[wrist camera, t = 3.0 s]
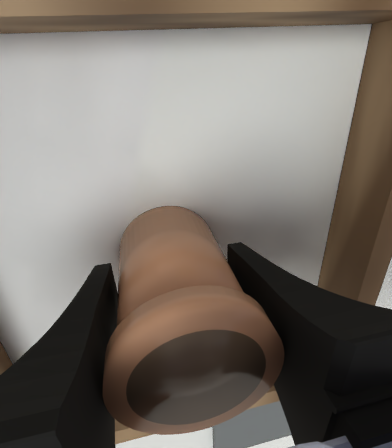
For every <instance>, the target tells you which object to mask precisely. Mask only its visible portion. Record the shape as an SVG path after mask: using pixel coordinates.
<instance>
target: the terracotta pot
mask: <svg viewBox="0 0 392 448" xmlns="http://www.w3.org/2000/svg"><path fill="white" fill-rule="evenodd" d="M283 362H284V346H283V343H282V340H281V338H280V337H279V335H278V333H277V331H276V330H275V328H274V326H273V325H272V323H271V321H270V319H269V318H268V316H267V314H266V313H265V311H264V309H263V308H262V306H261V305H260V304H259V303H258V302H257V301H256V300H255V299H253V298H252V297H251V296H249V295H247V294H245V293H244V292H243V290H242V288H241V286H240V284H239V283H238V281H237V279H236V277H235V275H234V273H233V271H232V269H231V268H230V266H229V264H228V262H227V260H226V258H225V256H224V255H223V253H222V251H221V249H220V247H219V245H218V243H217V241H216V240H215V238H214V236H213V234H212V232H211V230H210V228H209V227H208V225H207V223H206V222H205V221H204V220H203V219H202V218H201V217H200V216H199V215H198V214H196V213H195V212H193V211H191V210H188V209H185V208H182V207H176V206H164V207H158V208H154V209H151V210H149V211H146V212H144V213H143V214H141V215H139V216H138V217H137V218H135V219H134V220H133V221H132V222H131V223H130V224H129V225H128V227H127V228H126V230H125V231H124V233H123V236H122V238H121V242H120V255H119V283H118V310H117V328H116V329H115V330H114V332H113V334H112V335H111V337H110V339H109V342H108V344H107V347H106V352H105V362H104V375H103V400H104V404H105V406H106V408H107V410H108V412H109V413H110V414H111V415H112V417H113V418H115V419H116V420H117V421H118V422H120V423H121V424H123V425H124V426H126V427H129V428H131V429H133V430H137V431H140V432H144V433H150V434H161V435H167V434H182V433H189V432H194V431H198V430H202V429H206V428H209V427H212V426H215V425H218V424H220V423H223V422H225V421H227V420H229V419H231V418H233V417H235V416H237V415H239V414H240V413H242V412H244V411H245V410H247V409H248V408H250V407H251V406H252V405H254V404H255V403H256V402H257V401H259V400H260V399H261V398H262V397H263V396H264V395H265V394H266V393H267V392H268V391H269V390H270V388H271V387H272V386H273V384H274V383H275V381H276V380H277V378H278V376H279V374H280V372H281V369H282V366H283Z"/></svg>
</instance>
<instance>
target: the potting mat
mask: <svg viewBox="0 0 392 448" xmlns="http://www.w3.org/2000/svg"><path fill="white" fill-rule="evenodd" d="M289 435H292V434H291V431H290V428H289V425H288V423H287V420H286V417H285V414H284V411H283V409H282V406H281V403H280V401H278V402H274V403H270V404H266V405H262V406H259V407H255V408H251V409H247V410H245V411H244V412H242V413H240V414H239V415H237V416H235V417H233V418H231V419H229V420H227V421H225V422H223V423H220V424H218V425H215V426H213V448H247V447H251V446H254V445H258V444H261V443H265V442H268V441H272V440H275V439H279V438H282V437H286V436H289Z"/></svg>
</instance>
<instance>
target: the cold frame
mask: <svg viewBox="0 0 392 448" xmlns="http://www.w3.org/2000/svg"><path fill="white" fill-rule="evenodd" d="M344 24H372V28H371V33H370V38H369V43H368V48H367V52H366V57H365V62H364V67H363V72H362V76H361V81H360V86H359V91H358V95H357V100H356V105H355V110H354V115H353V119H352V124H351V129H350V134H349V139H348V143H347V148H346V153H345V158H344V163H343V167H342V172H341V177H340V182H339V186H338V191H337V196H336V201H335V206H334V210H333V215H332V220H331V225H330V230H329V234H328V239H327V244H326V249H325V254H324V258H323V263H322V268H321V273H320V278H319V282H318V287H320V288H322V289H325V290H327V291H330V292H333V293H335V294H338V295H341V296H344V297H347V298H350V299H353V300H356V301H360V302H363V303H367V304H370V305H374V306H375V303H376V300H377V298H378V295H379V292H380V289H381V286H382V283H383V280H384V278H385V275H386V272H387V269H388V266H389V263H390V260H391V257H392V0H0V34H3V33H41V32H78V31H116V30H154V29H192V28H230V27H268V26H306V25H344ZM12 365H13V364H12V362H11V361H10V359H9V357H8V355H7V353H6V352H5V350H4V348H3V346H2V344H1V342H0V375H1V374H2V373H3V372H5V371H6V370H7V369H8V368H9V367H10V366H12ZM278 401H280V400H279V397H278V395H277V392H276V389H275V387H274V384H273V386H272V387H271V388H270V390H269V391H268V392H267V393H266V394H265V395H264V396H263V397H262V398H261V399H260V400H259V401H257V402H256V403H255V404H254V405H252V406H251V407H250V408H248V409H251V408H255V407H259V406H262V405H266V404H270V403H274V402H278ZM148 435H152V434H150V433H144V432H140V431H137V430H133V429H131V428H129V427H126V426H124V425H123V424H121V423H120V422H118V421H117V420H116V419H115V444H118V443H122V442H126V441H129V440H133V439H137V438H141V437H145V436H148Z"/></svg>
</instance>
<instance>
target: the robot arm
mask: <svg viewBox="0 0 392 448" xmlns="http://www.w3.org/2000/svg"><path fill="white" fill-rule="evenodd" d="M228 264H229V266H230V268H231V269H232V271H233V273H234V275H235V277H236V279H237V281H238V283H239V284H240V286H241V288H242V290H243V292H244V293H245V294H247V295H249V296H251V297H252V298H253V299H255V300H256V301H257V302H258V303H259V304H260V305H261V306H262V308H263V309H264V311H265V313H266V314H267V316H268V318H269V319H270V321H271V323H272V325H273V326H274V328H275V330H276V331H277V333H278V335H279V337H280V338H281V340H282V343H283V346H284V362H283V366H282V369H281V372H280V374H279V376H278V378H277V380H276V381H275V383H274V387H275V389H276V392H277V395H278V397H279V400H280V403H281V406H282V409H283V411H284V414H285V417H286V420H287V423H288V425H289V428H290V431H291V434H292V437H293V440H294V443H295V446H292V447H289V448H392V310H391V309H387V308H382V307H378V306H374V305H370V304H367V303H363V302H360V301H356V300H353V299H350V298H347V297H344V296H341V295H338V294H335V293H333V292H330V291H327V290H325V289H322V288H320V287H317V286H315V285H313V284H311V283H309V282H306V281H304V280H302V279H300V278H298V277H296V276H294V275H292V274H291V273H289V272H287V271H285V270H283V269H282V268H280V267H278V266H276V265H275V264H273V263H272V262H270V261H268V260H267V259H265V258H264V257H262V256H261V255H259V254H258V253H256V252H255V251H253V250H252V249H250V248H249V247H247V246H246V245H244V244H242V243H241V242H240V243H234V244H228ZM117 310H118V292H117V288H116V284H115V279H114V275H113V271H112V267H111V263H108V264H102V265H96V266H95V267H94V268H93V270H92V271H91V273H90V275H89V276H88V278H87V279H86V281H85V283H84V284H83V286H82V287H81V289H80V290H79V292H78V293H77V294H76V296H75V297H74V299H73V300H72V302H71V303H70V304H69V306H68V307H67V308H66V309H65V311H64V312H63V313H62V315H61V316H60V317H59V318H58V320H57V321H56V322H55V323H54V324H53V325H52V327H51V328H50V329H49V330H48V331H47V332H46V333H45V334H44V335H43V337H42V338H41V339H40V340H39V341H38V342H37V343H35V344H34V345H33V346H32V347H31V348H30V349H29V350H28V351H27V352H26V353H25V354H24V355H23V356H22V357H21V358H20V359H19V360H17V361H16V362H15V363H14V364H13V365H12V366H10V367H9V368H8V369H7V370H6V371H5V372H3V373H2V374H1V375H0V448H115V418H113V417H112V415H111V414H110V413H109V412H108V410H107V408H106V406H105V404H104V400H103V375H104V362H105V352H106V347H107V344H108V342H109V339H110V337H111V335H112V334H113V332H114V330H115V329H116V328H117Z"/></svg>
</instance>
